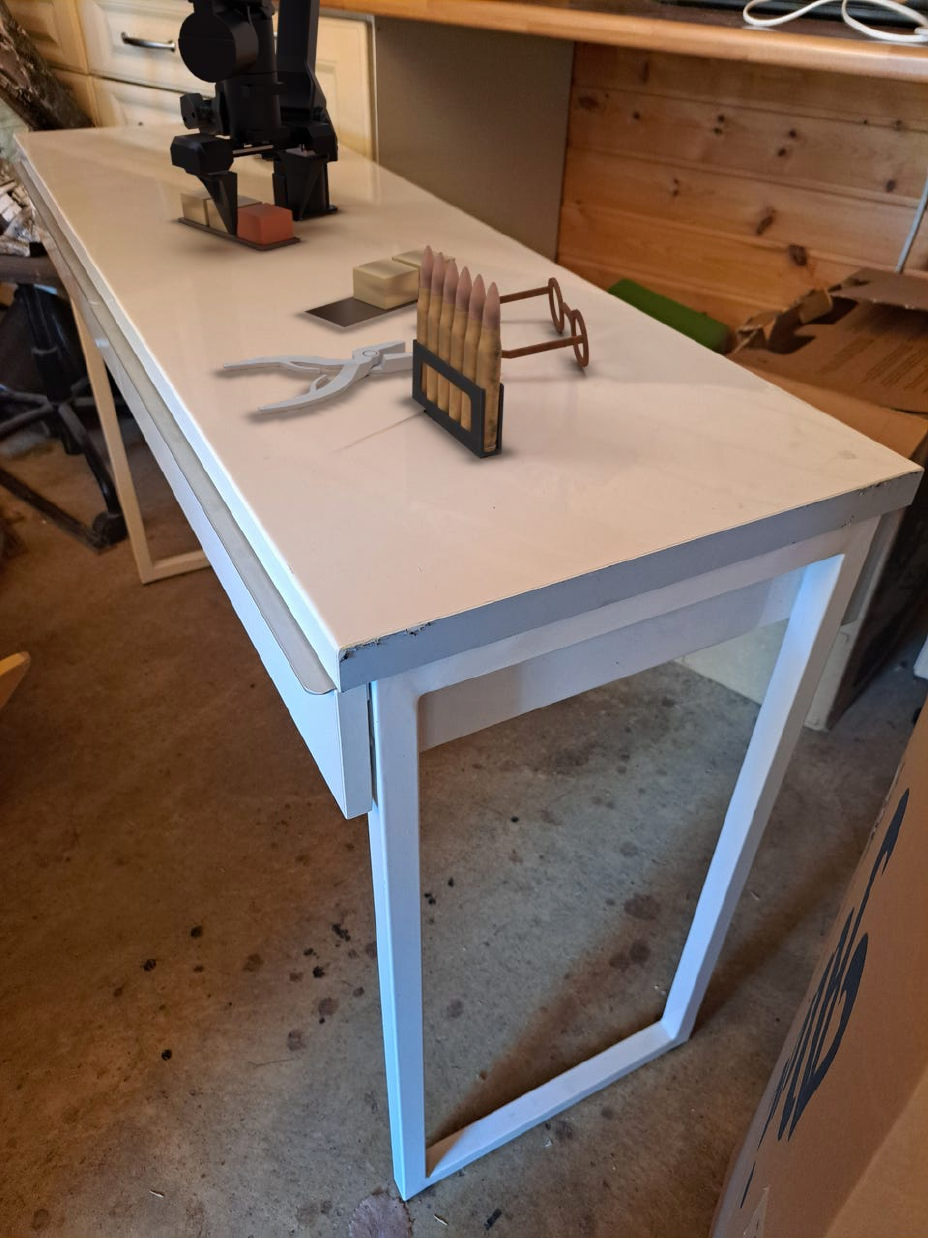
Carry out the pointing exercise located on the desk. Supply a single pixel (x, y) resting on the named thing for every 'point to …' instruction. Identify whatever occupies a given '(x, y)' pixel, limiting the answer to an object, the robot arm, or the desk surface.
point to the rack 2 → (379, 289)
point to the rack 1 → (218, 217)
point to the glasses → (558, 324)
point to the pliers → (362, 364)
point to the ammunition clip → (459, 354)
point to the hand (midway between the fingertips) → (265, 227)
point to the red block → (265, 223)
